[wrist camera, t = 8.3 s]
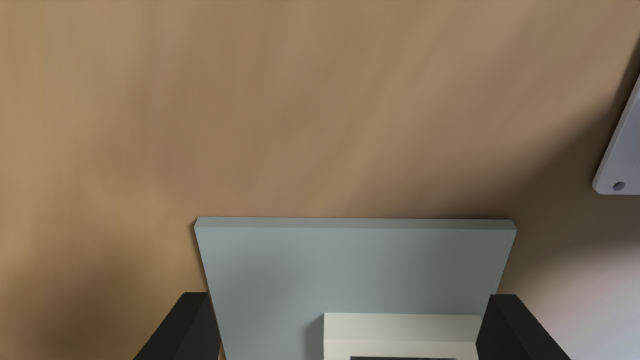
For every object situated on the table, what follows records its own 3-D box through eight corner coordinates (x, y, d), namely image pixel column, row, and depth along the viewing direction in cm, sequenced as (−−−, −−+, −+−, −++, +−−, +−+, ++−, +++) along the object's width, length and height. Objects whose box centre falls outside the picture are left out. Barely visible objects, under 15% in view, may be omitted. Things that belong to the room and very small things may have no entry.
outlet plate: (511, 219, 21) (532, 256, 19) (456, 390, 30) (466, 428, 28) (198, 216, 21) (183, 252, 19) (237, 385, 30) (230, 422, 28)
